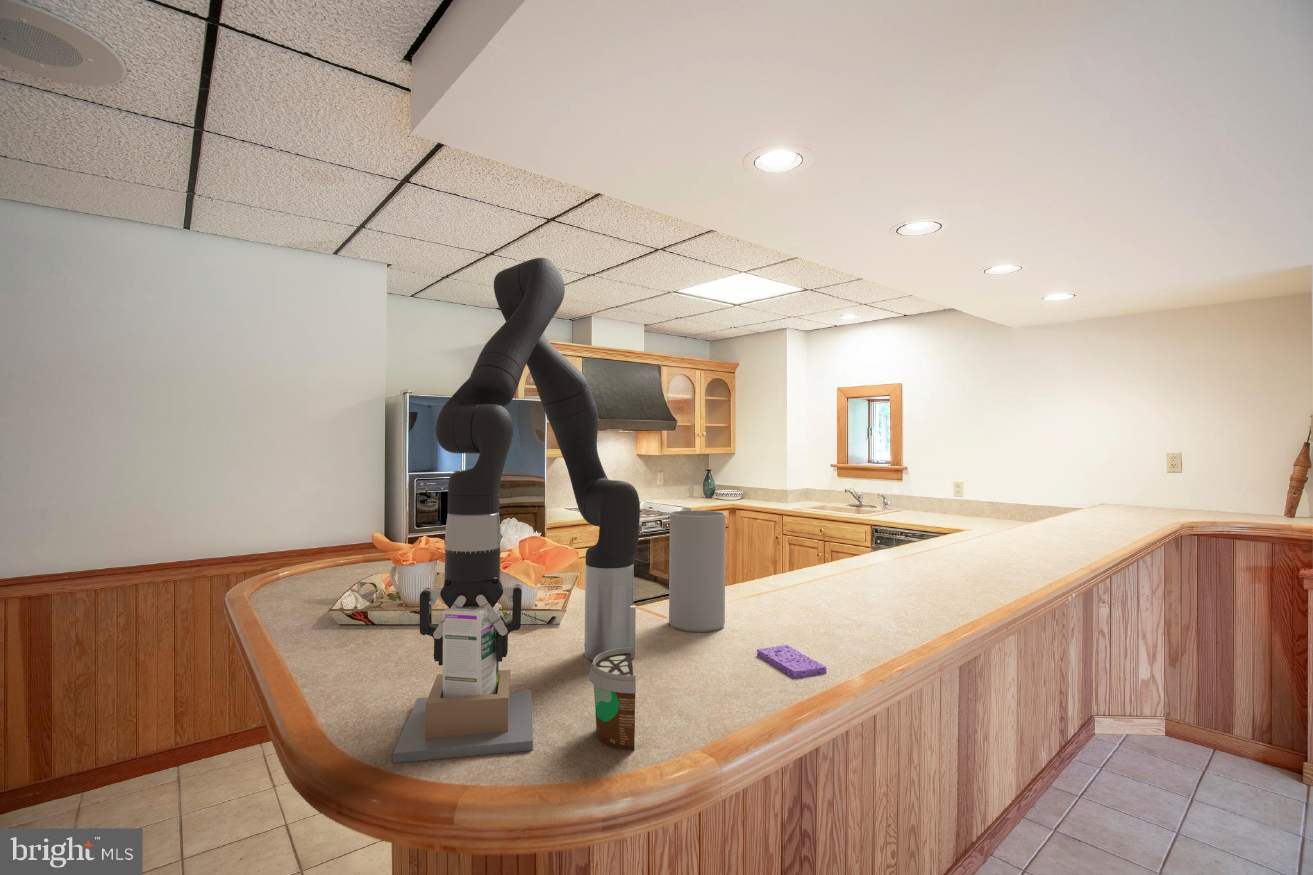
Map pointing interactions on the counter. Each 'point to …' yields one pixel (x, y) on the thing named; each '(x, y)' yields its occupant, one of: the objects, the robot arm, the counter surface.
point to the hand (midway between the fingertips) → (471, 661)
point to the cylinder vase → (697, 570)
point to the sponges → (791, 661)
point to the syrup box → (469, 652)
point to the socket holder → (467, 724)
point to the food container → (614, 698)
